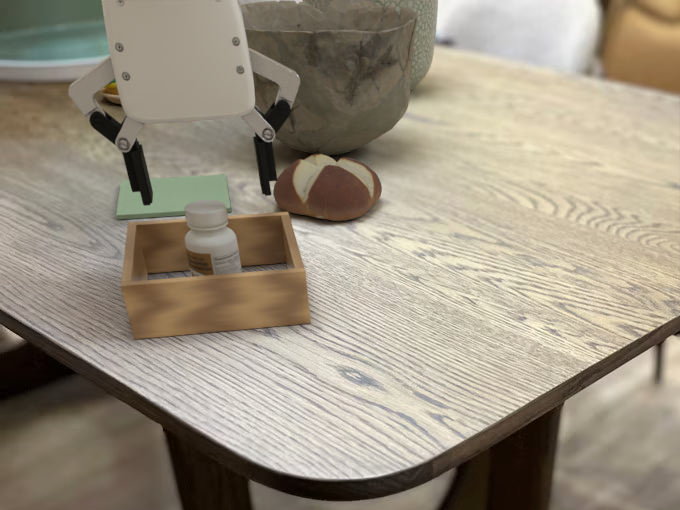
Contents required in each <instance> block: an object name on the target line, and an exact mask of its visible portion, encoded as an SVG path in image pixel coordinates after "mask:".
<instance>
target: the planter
mask: <svg viewBox="0 0 680 510" xmlns="http://www.w3.org/2000/svg"><path fill="white" fill-rule="evenodd" d="M303 1H307V2H308V3H309V4H310V5H312V6H313V7H314V8H316V9H318V10H320V11H321V12H322V13H323V12H324V8H325V7H328V6H329V4H330V3H331V2H332V1H333V0H302V2H303ZM350 1H369V2H374V3H376V4H378V5H382V6H383V7H384V8H385V10H386V8H387V6H388V5H391V6H394V7H395V8H396V11H397V12H398V14H399V15H400V10H401V8H403V7H407V8H409V9H411V10H413V11H416V13H417V15H418V22H417V27H416V33H415V39H414V45H413V47H414V49H415V52H414V53H413V58H412V72H411V84H410V92H411V91H412V90H414V89H415V88H417V86H419V84H420V83H422V81H423V80H424V79H425V78H426V76H427V75H428V74H429V71H430V69H431V66H432V63H433V60H434V54H435V45H436V36H437V33H436V32H437V25H438V12H439V11H438V9H439V0H350Z"/></svg>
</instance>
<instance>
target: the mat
mask: <svg viewBox="0 0 680 510" xmlns="http://www.w3.org/2000/svg"><path fill="white" fill-rule="evenodd" d="M227 180H228V179H227V174H226V173H223V174H207V175H206V174H205V175H187V176H172V177H155V178H153V177H151V178H150V182H151V186H152V191H153V202H152V203H150V205H146V206H144V205H143V202H142V198H141V193H140V192H132V189H131V186H130V182H129V179H121V180H120V185H119V192H118V199H117V206H116V212H115V217H116V220H117V221H118V220H119V221H120V220H121V221H122V220H135V219H150V218H164V217H165V218H166V217H180V216H185V210H184V208H185V206H186V205H187V204H189V203H191V202H194V201H200V200H215V201H220V202H223V203H224V204H225V206H226V210H227V213H232V208H231V207H232V206H231V201H230V195H229V194H230V193H229V187H228V181H227Z"/></svg>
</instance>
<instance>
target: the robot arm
mask: <svg viewBox="0 0 680 510" xmlns="http://www.w3.org/2000/svg"><path fill="white" fill-rule="evenodd" d="M240 5H241V3H240V0H101V6H102V7H101V8H102V14H103V20H104V27H105V33H106V39H107V44H108V49H109V55H108V56H107V57H105V58H104V59H103V60H101V61H100V62H98V63H97V64H96V65H95V66H93V67H92V68H91V69H90V70H88V71H86V72H85V73H84V74H83V75H81V76H79V78H77V79H75V80H74V81H73V82H72V83H70V85H69V88H68V91H67V93H68V97H69V98H70V99H71V101H72V102H73V103H74V105H75V106H76V107H77V108H78V110H80V112H81V113H82V115H83V116H84V117H85V118H86V120H88V121H89V123H90V126H91V127H92V128H93V129H94V130H95V131H96V132H98V133H99V134H100V135H102V136H103V137H104V138H105V139H106V140H108V141H109V142H111V143H112V144H113V145H114V146H115V147H116V149H117V150H118V151H119V152H121V153H122V158H123V161H124V166H125V169H126V174H127V177H128V180H129V182H130V186H131V189H132V192H140V193H141V198H142V202H143V205H144V206H146V205H150V203H152V202H153V191H152V186H151V182H150V179H151V177H150V173H149V170H148V165H147V161H146V157H145V151H144V147H143V144H140V142H139V141H138V136H139V135H140V133H141V131H142V129H143V128H144V126H145V124H169V123H170V124H171V123H186V122H202V121H216V120H227V119H229V120H230V119H236V118H240V119H242V120H243V121H244V122H245V124H246V125H248V126H249V128H250V129H251V130H252V131H253V132H254V136H252V138H253V145H254V153H255V161H256V165H257V173H258V180H259V185H260V189H261V194H262V195H264V196H265V197H267V196H269V197H270V196H272V189H271V183H270V182H276V181H277V178H278V174H277V166H276V159H275V152H274V144H273V142H274V140H275V139H276V138H275V135H276V133H277V132H278V131H279V129H280V128H281V127H282V125H283V124H284V122H285V121H286V120H287V118H288V117H289V116H290V114H291V108H292V105H293V103H294V100H295V97H296V94H297V91H298V88H299V85H300V78H299V76H298V74H297V72H296V71H294V70H292V69H290V68H288V67H286V66H284V65H282V64H280V63H278V62H276V61H274V60H272V59H270V58H268V57H266V56H265V55H263V54H261V53H259V52H257V51H255V50H253V49H251V48H249V47H248V43H247V37H246V32H245V27H244V22H243V17H242V12H241V7H240ZM252 71H253V72H255V73H257V74H259V75H261V76H263V77H265V78H267V79H269V80H271V81H273V82H275V83H277V84H278V85H279V90H278V94H277V97H276V99H275V101H274V102H273V104H272V105H271V106H270V108H269V109H268V111H267V112H266V113H265V114H264V113H263V112H262V111H261V109H260V108H259V107H258V106H257V105H256V104H255V88H254V79H253V72H252ZM114 79H115V81H116V85H117V89H118V93H119V97H120V101H121V104H122V105H121V104H120V105H121V108H122V109H123V112H124V116H123V118H122V120H121V122H119V121H118V120H117V119H115V118H114V117H113V116H112V115H110V113H108V112H107V111H106V110H104V109H103V108H102V107H101V105H100V104H99V102H98V100H96V98H95V94H97V93H98V92H100V90H101V89H102V88H103V87H105V86H106V85H107V84H109V83H110V82H112V81H113V80H114Z"/></svg>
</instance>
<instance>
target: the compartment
mask: <svg viewBox="0 0 680 510" xmlns="http://www.w3.org/2000/svg"><path fill="white" fill-rule="evenodd" d="M226 227H228V228H230V229H231V230H232V231H233V232H234V233H235V235H236V238H237V243H238V250H239V256H240V262H241V267H248V266H260V265H263V266H264V265H272V264H273V265H274V264H275V265H276V264H286V268H285V269H271V270H260V271H259V270H258V271H257V270H256V271H246V272H244V271H243V272H242V273H232V274H219V275H207V276H194V277H192V276H185V277H184V276H183V277H171V278H170V277H169V278H159V279H158V278H157V279H148V276H149V274H158V273H172V272H183V271H184V272H185V271H191V270H190V265H189V260H188V256H187V251H186V246H185V236H186V234H187V233H188V232H189V231H190V230H191V228H189V227H188V225H187V221H186V218H174V219H173V218H172V219H157V220H144V221H129V222H127V226H126V236H125V245H124V254H123V262H122V263H123V264H122V272H121V281H120V289H121V293H122V297H123V301H124V305H125V308H126V309H125V310H126V312H127V316H128V321H129V324H130V328H131V331H132V336H133V339H134V340H143V339H153V338H154V339H155V338H165V337H176V336H185V335H197V334H208V333H218V332H230V331H240V330H252V329H262V328H274V327H284V326H294V325H295V326H296V325H306V324H311V322H312V321H311V320H312V319H311V309H310V302H309V300H310V299H309V293H308V281H307V272H306V268H305V265H304V262H303V261H304V260H303V258H302V255H301V252H300V248H299V243H298V241H297V238H296V234H295V231H294V226H293V223H292V220H291V217H290V212H288V211H280V212H279V211H277V212H276V211H275V212H263V213H262V212H261V213H247V214H234V215H233V214H232V215H228V224H227V225H226Z"/></svg>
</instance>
